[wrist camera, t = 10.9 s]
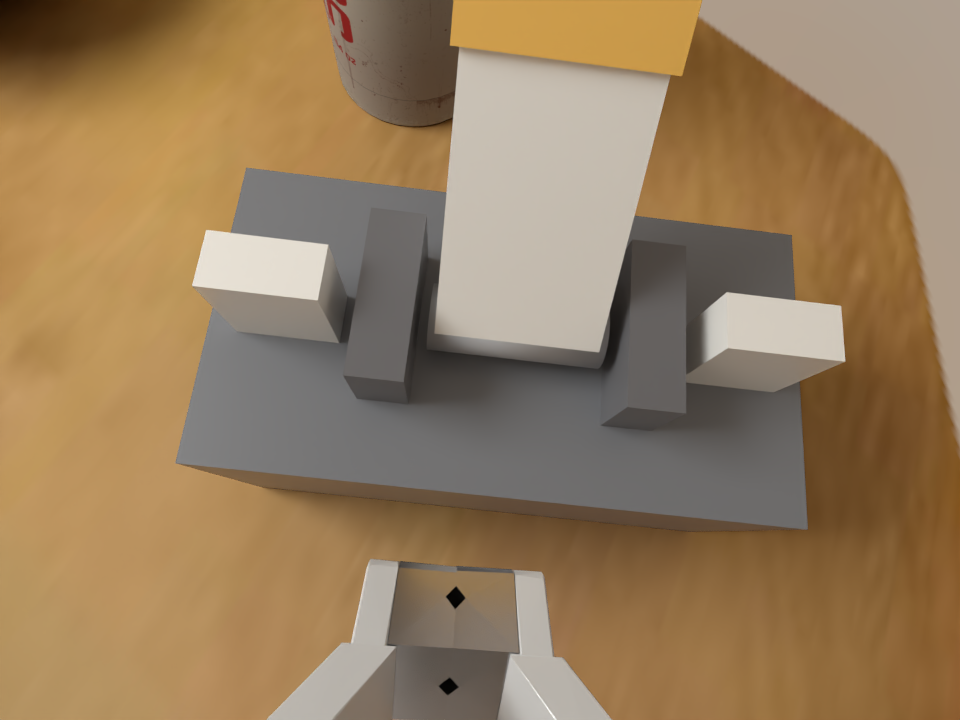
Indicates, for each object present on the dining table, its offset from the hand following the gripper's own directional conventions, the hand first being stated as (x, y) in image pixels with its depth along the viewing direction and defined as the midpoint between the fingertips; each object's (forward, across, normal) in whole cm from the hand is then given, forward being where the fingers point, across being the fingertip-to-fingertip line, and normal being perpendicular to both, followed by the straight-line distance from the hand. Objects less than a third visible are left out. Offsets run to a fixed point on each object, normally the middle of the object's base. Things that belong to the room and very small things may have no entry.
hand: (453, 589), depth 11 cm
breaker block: (+16, +2, -6) cm, 18 cm away
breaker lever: (+9, +2, +1) cm, 9 cm away
